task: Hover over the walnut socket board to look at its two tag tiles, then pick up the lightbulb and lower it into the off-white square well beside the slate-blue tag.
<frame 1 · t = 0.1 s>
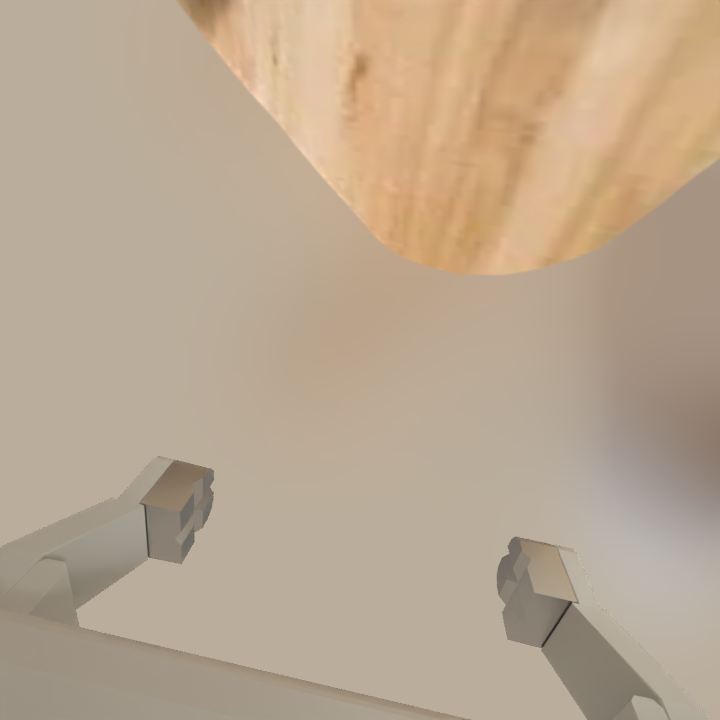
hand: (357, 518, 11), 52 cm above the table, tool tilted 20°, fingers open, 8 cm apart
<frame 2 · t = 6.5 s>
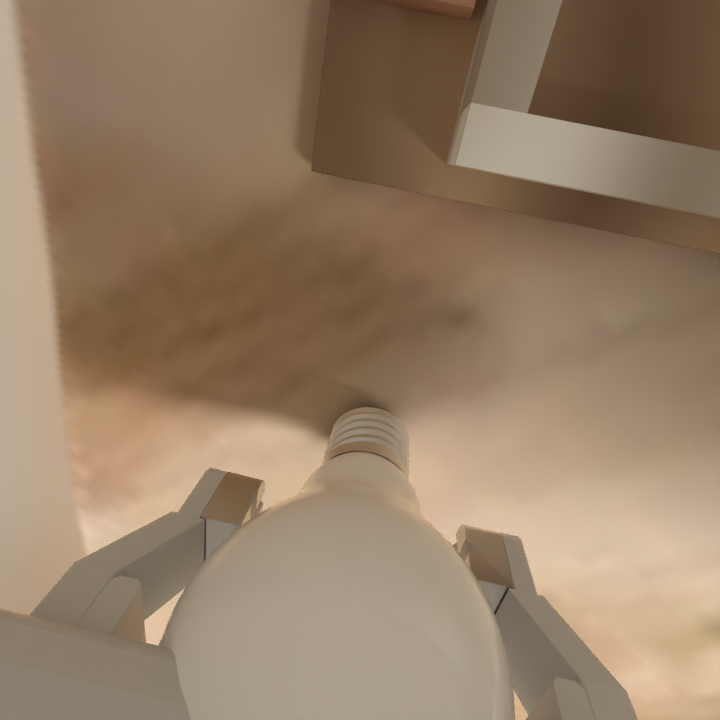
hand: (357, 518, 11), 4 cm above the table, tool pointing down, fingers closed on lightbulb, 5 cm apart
lightbulb: (371, 425, 15), on the table, touching gripper
when the fingers open (7 cm above the table, at t = 12.7 s): lightbulb moves 2 cm, resting on socket board.
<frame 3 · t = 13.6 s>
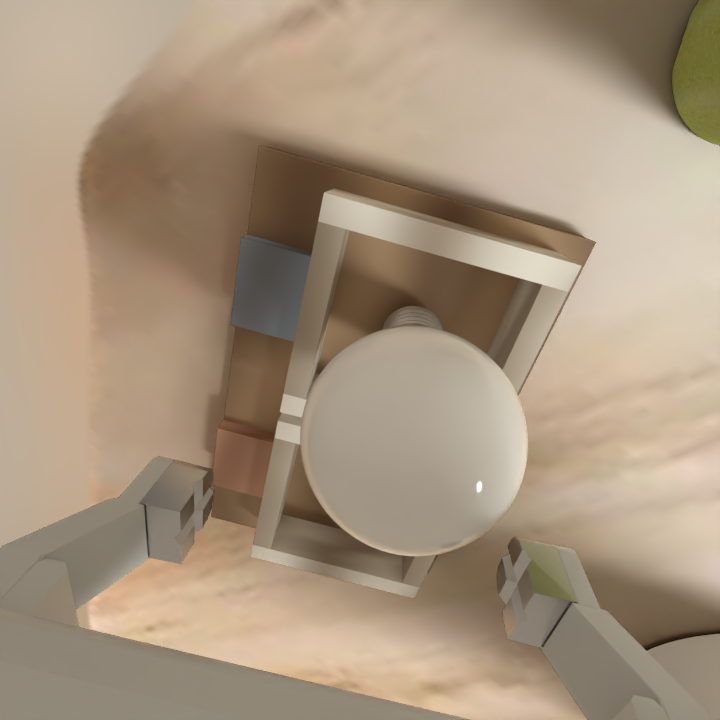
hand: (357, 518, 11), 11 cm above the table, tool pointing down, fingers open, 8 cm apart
lightbulb: (412, 326, 19), point 1 cm above the table, touching socket board
socket board: (364, 398, 22), on the table
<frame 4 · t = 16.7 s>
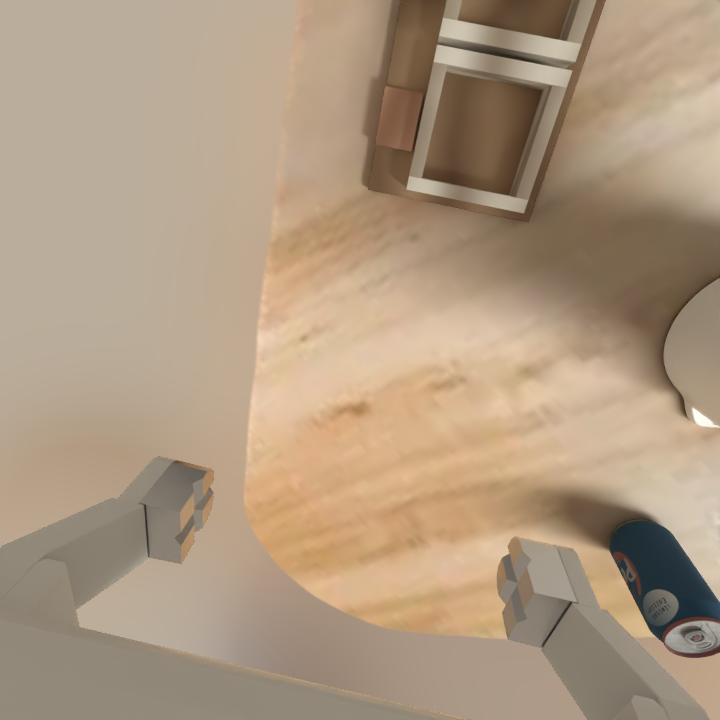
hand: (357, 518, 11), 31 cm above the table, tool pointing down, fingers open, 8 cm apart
soda can: (635, 535, 50), on the table
socket board: (483, 61, 32), on the table
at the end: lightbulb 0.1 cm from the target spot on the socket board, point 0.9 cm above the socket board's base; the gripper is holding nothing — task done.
